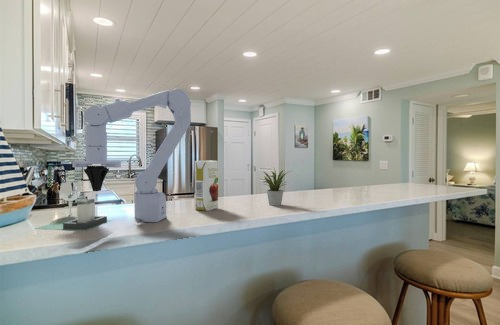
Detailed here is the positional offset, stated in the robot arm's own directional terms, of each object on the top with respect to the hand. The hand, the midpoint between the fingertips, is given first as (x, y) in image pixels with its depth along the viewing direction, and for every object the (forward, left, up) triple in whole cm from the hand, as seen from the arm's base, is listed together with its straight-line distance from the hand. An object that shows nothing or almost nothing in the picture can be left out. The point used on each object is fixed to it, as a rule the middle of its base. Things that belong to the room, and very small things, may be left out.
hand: (96, 190), depth 87 cm
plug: (-1, +6, -9) cm, 11 cm away
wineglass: (+13, -6, -10) cm, 18 cm away
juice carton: (-28, -26, -10) cm, 40 cm away
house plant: (-56, -39, -10) cm, 69 cm away
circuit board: (+2, +6, -10) cm, 12 cm away
